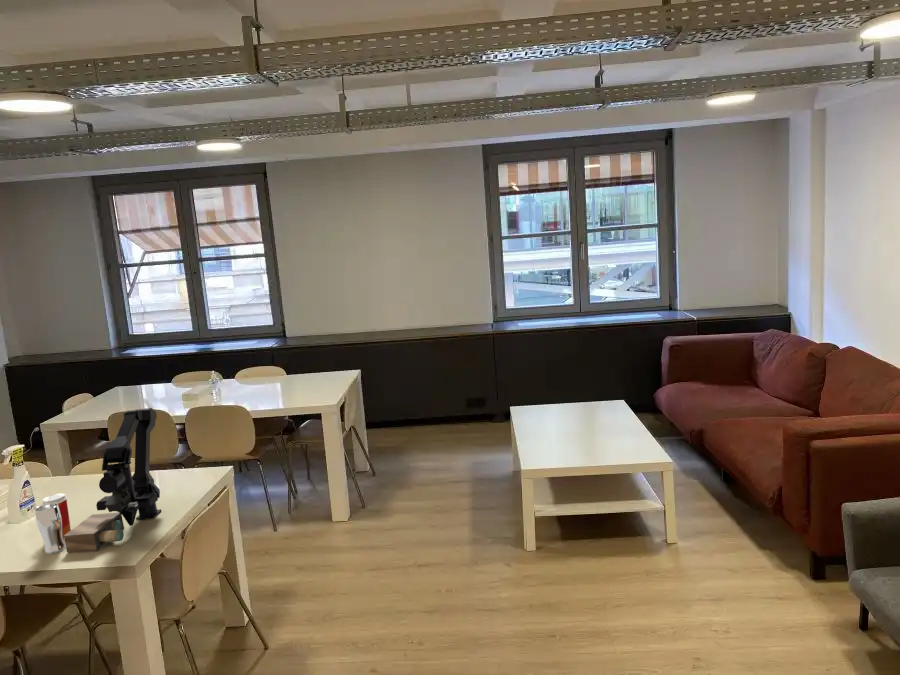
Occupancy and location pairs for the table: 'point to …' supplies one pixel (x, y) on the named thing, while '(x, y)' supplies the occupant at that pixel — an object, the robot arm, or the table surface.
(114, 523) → the dowel
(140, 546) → the table surface
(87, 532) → the socket block
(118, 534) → the dowel
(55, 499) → the red canister
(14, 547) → the table surface
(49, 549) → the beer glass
